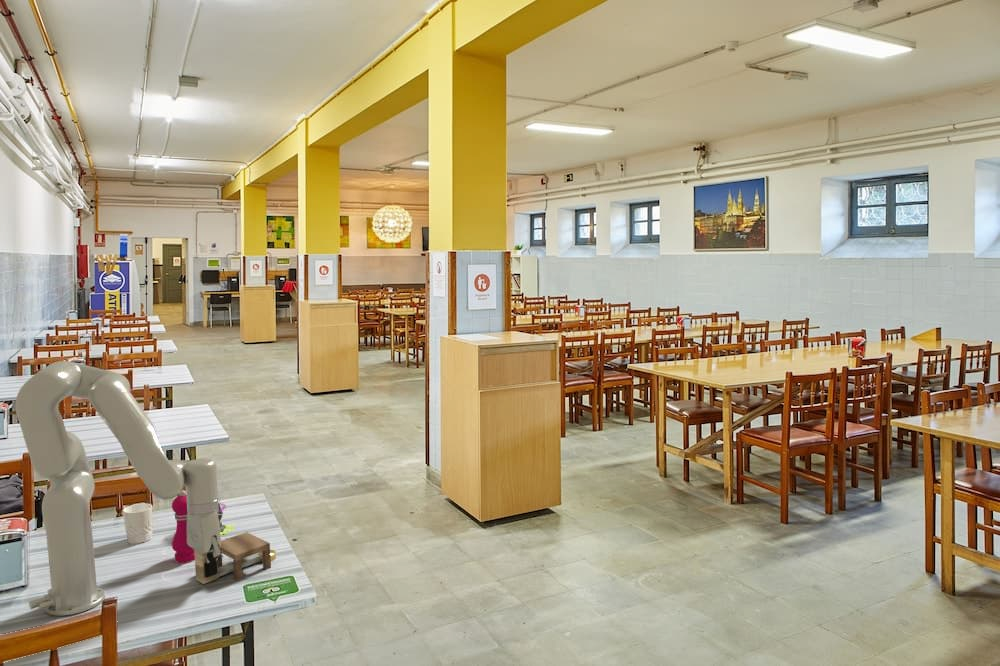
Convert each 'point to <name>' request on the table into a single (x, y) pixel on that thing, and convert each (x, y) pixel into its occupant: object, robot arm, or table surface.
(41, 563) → the table surface
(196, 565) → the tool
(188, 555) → the pepper mill
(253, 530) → the table surface
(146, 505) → the white cup
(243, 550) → the small wooden table
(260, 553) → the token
